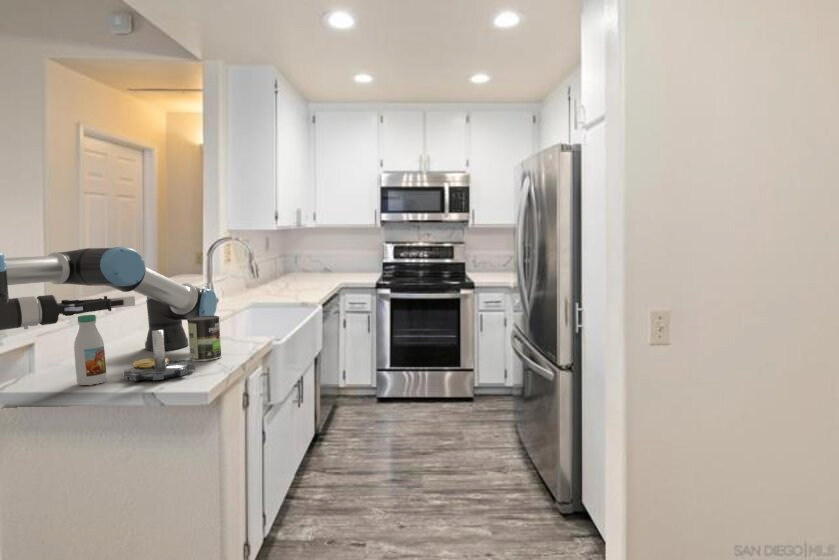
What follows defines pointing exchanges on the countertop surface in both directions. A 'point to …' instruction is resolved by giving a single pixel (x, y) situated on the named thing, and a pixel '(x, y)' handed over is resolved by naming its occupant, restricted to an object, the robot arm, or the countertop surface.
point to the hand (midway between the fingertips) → (133, 300)
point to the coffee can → (204, 338)
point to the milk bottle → (89, 353)
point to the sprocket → (158, 363)
